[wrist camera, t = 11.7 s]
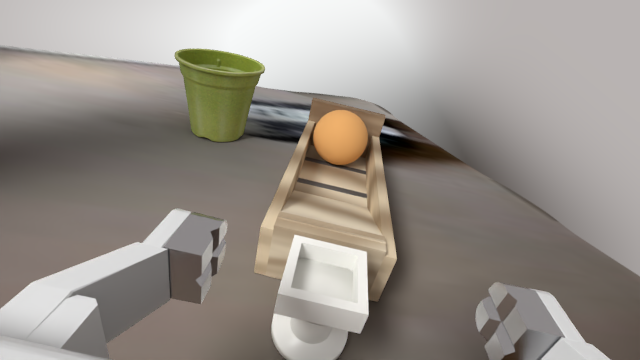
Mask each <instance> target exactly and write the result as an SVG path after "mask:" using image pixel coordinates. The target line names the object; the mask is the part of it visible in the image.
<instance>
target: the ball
mask: <svg viewBox="0 0 640 360" xmlns="http://www.w3.org/2000/svg"><path fill="white" fill-rule="evenodd" d="M313 142H314V146H315V149H316V151H317V152H318V154H319V155H320V156H321V157H322V158H323V159H324V160H325V161H327V162H329V163H331V164H335V165H345V164H349V163H352V162H354V161H355V160H357V159H358V158H359V157H360V156H361V155H362V154H363V152H364V150H365V149H366V146H367V142H368V132H367V129H366V126H365V124H364V122H363V121H362V120H361V118H360V117H359V116H357V115H356V114H354V113H352V112H350V111H346V110H335V111H332V112H329V113H327V114H326V115H324V116H323V117H322V118H321V119H320V120H319V121H318V123H317V125H316V127H315V129H314V134H313Z"/></svg>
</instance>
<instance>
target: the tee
mask: <svg viewBox="0 0 640 360" xmlns="http://www.w3.org/2000/svg"><path fill="white" fill-rule="evenodd" d="M368 315H369V311H368V278H367V252H366V251H362V250H357V249H353V248H349V247H345V246H341V245H336V244H332V243H328V242H324V241H320V240H315V239H311V238H307V237H303V236H299V235H294V238H293V242H292V245H291V249H290V252H289V256H288V259H287V263H286V266H285V270H284V273H283V277H282V280H281V284H280V287H279V291H278V295H277V300H276V304H275V309H274V316H273V321H272V325H271V335H272V340H273V343H274V345H275V347H276V349H277V350H278V352H279V353H280V354H281V355H282V356H283V357H284V358H285V359H286V360H336V359H337V358H338V357H339V356H340V354H341V353H342V351H343V348H344V346H345V343H346V341H347V336H348V331H350V332H355V333H359V334H360V333H361V331H362V329H363V327H364V324H365V322H366V320H367V318H368Z"/></svg>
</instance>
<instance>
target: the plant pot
mask: <svg viewBox="0 0 640 360" xmlns="http://www.w3.org/2000/svg"><path fill="white" fill-rule="evenodd" d="M175 59H176V60H177V61H178V62H179V65H180V70H181V73H182V75H183V77H184V83H185V90H186V96H187V103H188V109H189V116H190V124H191V130H192V132H193V133H194V134H195V135H196V136H198V137H206V138H208V139H210V140H211V141H215V142H228V141H234V140H237V139H238V138H239V137H240V136H241V135H243V133H244V129H245V125H246V121H247V117H248V113H249V109H250V105H251V101H252V97H253V93H254V90H255V86H256V85H257V84H258V81H259V78H260V75H261V74H262V73H264V71H265V67H264V65H263V64H261V63H260V62H258V61H256V60H254V59H251V58H248V57H245V56H242V55H238V54H234V53H229V52H224V51H217V50H209V49H183V50H179V51H177V52H175Z"/></svg>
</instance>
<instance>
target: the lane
mask: <svg viewBox="0 0 640 360" xmlns="http://www.w3.org/2000/svg"><path fill="white" fill-rule="evenodd" d="M335 110H346V111H350V112H352V113H354V114H356V115H357V116H359V117H360V118H361V120H362V121H363V122H364V124H365V126H366V129H367V132H368V142H367V146H366V149H365V150H364V152H363V154H362V155H361V156H360V157H359V158H358V159H357V160H355V161H354V162H352V163H349V164H345V165H335V164H331V163H329V162H327V161H325V160H324V159H323V158H322V157H321V156H320V155H319V154H318V152H317V151H316V149H315V146H314V142H313V134H314V129H315V127H316V125H317V123H318V121H319V120H320V119H321V118H322V117H323V116H324V115H326V114H327V113H329V112H332V111H335ZM384 120H385V115H383V114H379V113H375V112H371V111H367V110H363V109H358V108H354V107H350V106H346V105H342V104H338V103H334V102H329V101H325V100H321V99H317V98H313V100H312V105H311V110H310V115H309V120H308V122H307V125H306V127H305V129H304V131H303V133H302V136H301V138H300V140H299V142H298V145H297V147H296V149H295V151H294V154H293V156H292V158H291V160H290V163H289V165H288V167H287V169H286V171H285V174H284V176H283V178H282V180H281V183H280V185H279V187H278V189H277V192H276V194H275V196H274V198H273V200H272V203H271V205H270V207H269V209H268V212H267V214H266V216H265V218H264V221H263V223H262V225H261V228H260V235H259V242H258V249H257V256H256V262H255V269H254V273H258V274H262V275H265V276H268V277H272V278H277V279H281V280H282V277H283V273H284V270H285V266H286V263H287V259H288V256H289V252H290V249H291V245H292V242H293V238H294V235H299V236H303V237H307V238H311V239H315V240H320V241H324V242H328V243H332V244H336V245H341V246H345V247H349V248H353V249H357V250H362V251H366V252H367V278H368V300H372V301H376V302H378V300H379V298H380V296H381V294H382V291H383V289H384V287H385V285H386V282H387V280H388V278H389V276H390V274H391V271H392V269H393V267H394V265H395V263H396V260H397V256H396V249H395V242H394V236H393V229H392V222H391V215H390V209H389V202H388V195H387V189H386V182H385V175H384V168H383V162H382V155H381V148H380V142H379V135H380V132H381V129H382V126H383V123H384Z"/></svg>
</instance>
